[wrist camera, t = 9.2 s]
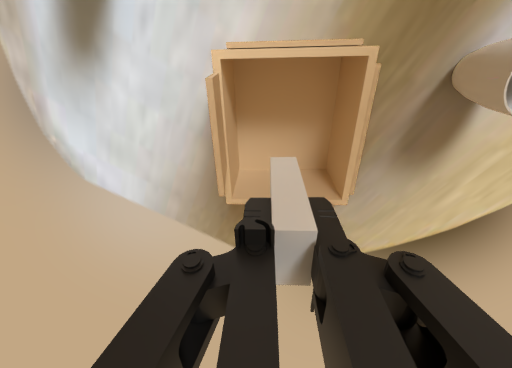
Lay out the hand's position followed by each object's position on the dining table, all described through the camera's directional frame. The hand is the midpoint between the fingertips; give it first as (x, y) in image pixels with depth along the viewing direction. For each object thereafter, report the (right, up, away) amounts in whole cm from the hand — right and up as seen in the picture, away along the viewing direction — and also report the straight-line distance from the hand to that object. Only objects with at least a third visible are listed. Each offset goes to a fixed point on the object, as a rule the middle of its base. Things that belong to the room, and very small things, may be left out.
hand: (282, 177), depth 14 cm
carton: (+3, +10, +21) cm, 23 cm away
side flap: (-5, +5, +8) cm, 11 cm away
